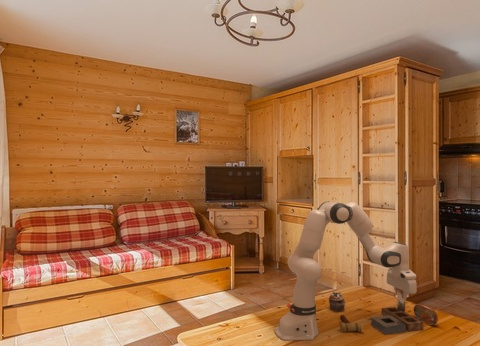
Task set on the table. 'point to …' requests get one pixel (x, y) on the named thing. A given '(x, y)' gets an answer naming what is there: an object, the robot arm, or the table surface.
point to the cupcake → (336, 302)
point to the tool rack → (404, 318)
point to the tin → (425, 314)
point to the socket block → (388, 324)
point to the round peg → (400, 301)
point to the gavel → (349, 325)
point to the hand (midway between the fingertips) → (401, 297)
